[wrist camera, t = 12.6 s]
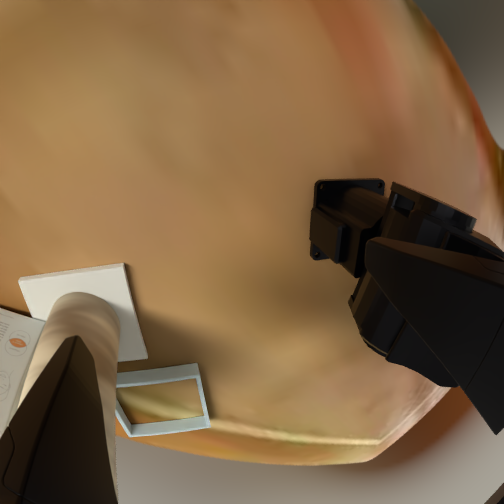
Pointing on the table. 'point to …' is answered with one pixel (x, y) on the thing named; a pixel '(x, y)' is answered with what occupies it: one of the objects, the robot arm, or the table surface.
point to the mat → (99, 284)
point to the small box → (15, 359)
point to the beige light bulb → (97, 341)
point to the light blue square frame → (153, 378)
